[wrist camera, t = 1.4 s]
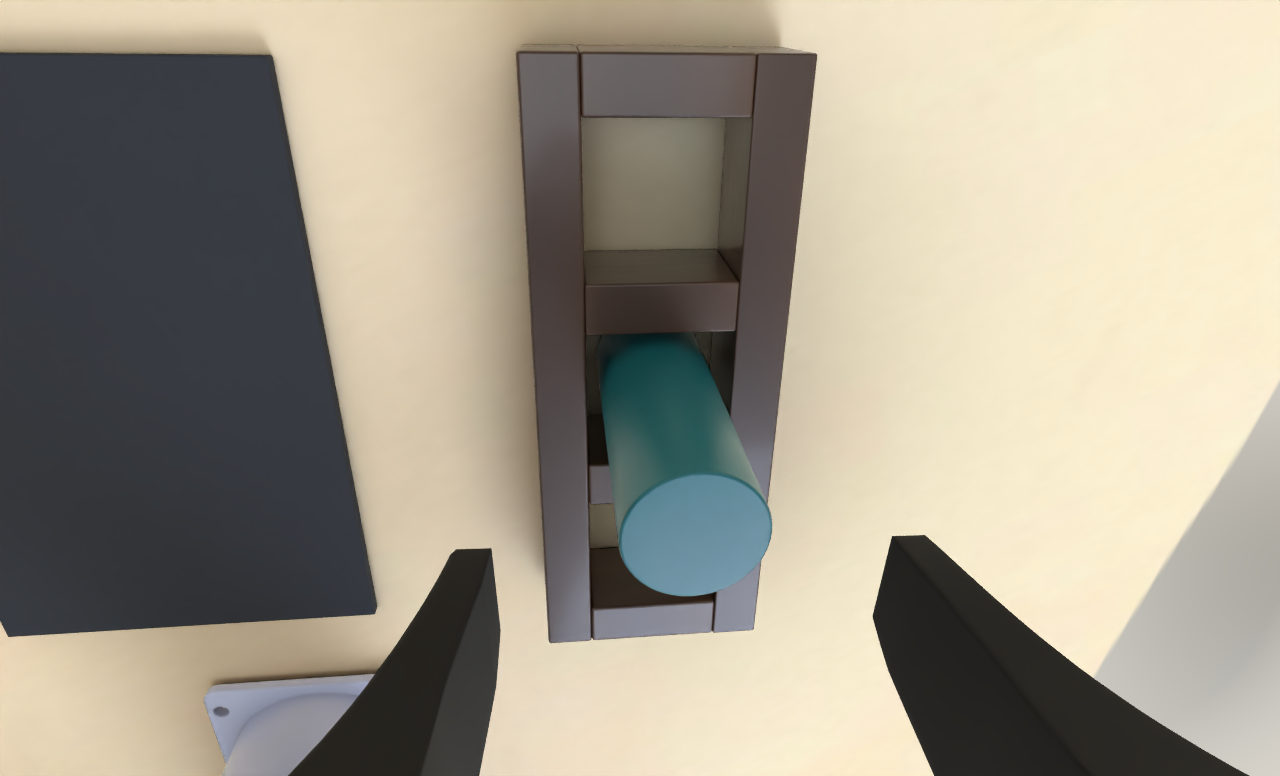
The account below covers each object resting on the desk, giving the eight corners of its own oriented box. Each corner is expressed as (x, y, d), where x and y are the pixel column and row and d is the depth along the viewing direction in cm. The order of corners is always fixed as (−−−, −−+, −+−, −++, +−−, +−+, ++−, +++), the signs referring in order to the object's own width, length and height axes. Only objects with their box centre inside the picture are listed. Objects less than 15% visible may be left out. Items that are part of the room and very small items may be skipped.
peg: (696, 399, 24) (766, 592, 16) (596, 403, 24) (618, 601, 16) (700, 306, 23) (780, 468, 15) (595, 308, 22) (618, 475, 14)
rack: (782, 47, 20) (818, 53, 17) (734, 570, 28) (753, 630, 25) (520, 44, 19) (515, 50, 16) (549, 581, 27) (548, 644, 24)
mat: (377, 606, 27) (375, 614, 26) (15, 628, 26) (7, 637, 25) (272, 54, 19) (267, 55, 18) (-267, 49, 17) (-284, 50, 17)
